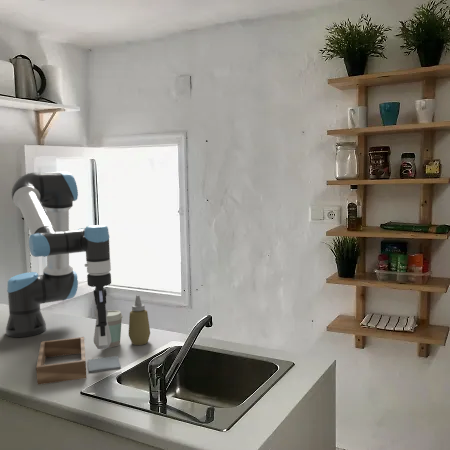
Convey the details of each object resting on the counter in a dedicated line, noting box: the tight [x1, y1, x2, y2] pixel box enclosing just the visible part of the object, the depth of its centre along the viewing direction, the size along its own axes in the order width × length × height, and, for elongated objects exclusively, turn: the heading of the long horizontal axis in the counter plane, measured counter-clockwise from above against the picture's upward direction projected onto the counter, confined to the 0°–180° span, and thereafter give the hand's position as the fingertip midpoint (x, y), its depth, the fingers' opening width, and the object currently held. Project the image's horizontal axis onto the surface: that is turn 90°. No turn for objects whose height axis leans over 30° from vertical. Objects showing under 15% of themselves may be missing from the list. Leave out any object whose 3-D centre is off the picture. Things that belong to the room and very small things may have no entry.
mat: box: [87, 355, 121, 373], centre depth 166 cm, size 10×10×1 cm
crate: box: [35, 336, 88, 385], centre depth 165 cm, size 24×14×6 cm, turn 17°
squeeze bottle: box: [128, 294, 151, 346], centre depth 185 cm, size 8×8×18 cm
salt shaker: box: [93, 308, 111, 350], centre depth 165 cm, size 6×6×13 cm
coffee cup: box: [107, 309, 123, 348], centre depth 185 cm, size 8×8×12 cm
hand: (102, 341), depth 165 cm, fingers closed on salt shaker, 6 cm apart
